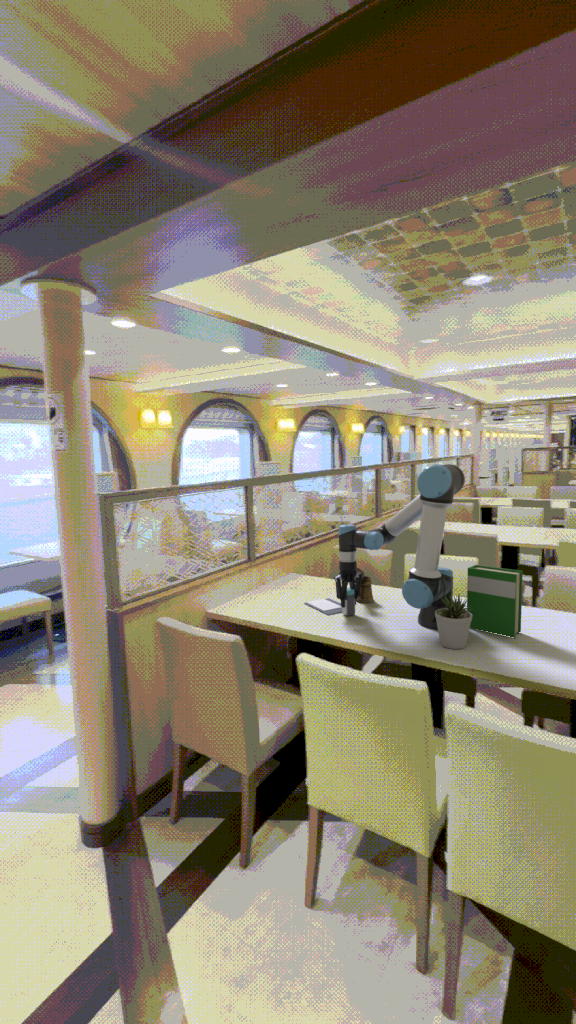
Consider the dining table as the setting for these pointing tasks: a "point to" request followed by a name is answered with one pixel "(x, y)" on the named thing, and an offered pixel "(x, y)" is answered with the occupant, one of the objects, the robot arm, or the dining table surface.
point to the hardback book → (495, 599)
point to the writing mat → (326, 606)
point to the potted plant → (453, 623)
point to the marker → (350, 602)
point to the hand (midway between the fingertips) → (348, 613)
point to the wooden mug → (365, 588)
